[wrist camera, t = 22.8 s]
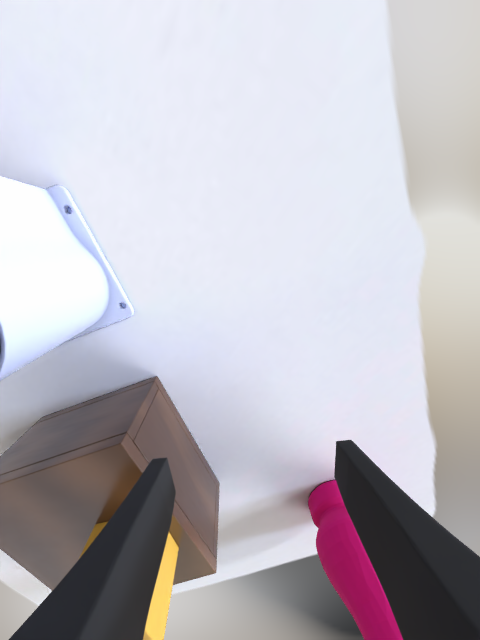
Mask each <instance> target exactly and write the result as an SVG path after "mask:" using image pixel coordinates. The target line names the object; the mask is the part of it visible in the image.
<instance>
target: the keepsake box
mask: <svg viewBox="0 0 480 640" xmlns="http://www.w3.org/2000/svg"><path fill="white" fill-rule="evenodd" d="M125 433H127V434H128V435H129V437H130V438H131V440H132V441H133V443H134V444H135V445H136V447H137V448H138V450H139V451H140V452H141V454H142V455H143V457H144V458H145V459H146V461H147V462H148V464H149V463H150V462H151V460H152V459H156V458H166V457H167V459H168V463H169V467H170V470H171V474H172V478H173V482H174V486H175V490H176V495H175V502H176V503H177V505H178V506H179V508H180V509H181V510H182V512H183V513H184V515H185V516H186V517H187V519H188V520H189V522H190V523H191V525H192V526H193V527H194V529H195V530H196V532H197V533H198V534H199V536H200V537H201V539H202V540H203V541H204V543H205V544H206V546H207V547H208V549H209V550H210V551H211V553H212V554H213V556H214V557H215V558H216V559H217V539H218V512H219V482H218V480H217V478H216V476H215V475H214V473H213V471H212V470H211V468H210V466H209V464H208V463H207V461H206V459H205V458H204V456H203V454H202V452H201V451H200V449H199V447H198V446H197V444H196V442H195V440H194V439H193V437H192V435H191V433H190V432H189V430H188V428H187V427H186V425H185V423H184V421H183V420H182V418H181V416H180V415H179V413H178V411H177V409H176V408H175V406H174V404H173V402H172V401H171V399H170V397H169V396H168V394H167V392H166V390H165V389H164V387H163V385H162V384H161V382H160V380H159V378H158V377H157V376H156V377H153V378H150V379H148V380H145V381H142V382H139V383H136V384H134V385H131V386H128V387H125V388H123V389H120V390H117V391H114V392H111V393H109V394H106V395H103V396H100V397H97V398H95V399H92V400H89V401H86V402H83V403H81V404H78V405H75V406H72V407H69V408H67V409H64V410H61V411H58V412H55V413H53V414H50V415H47V416H44V417H42V418H41V419H40V420H39V421H38V422H37V423H36V424H34V425H33V426H32V427H31V428H30V429H29V430H28V431H27V432H26V433H25V434H24V435H23V436H22V437H20V438H19V439H18V440H17V441H16V442H15V443H14V444H13V445H12V446H11V447H10V448H9V449H8V450H7V451H5V452H4V453H3V454H2V455H1V456H0V476H1V475H4V474H7V473H10V472H13V471H16V470H19V469H22V468H24V467H27V466H30V465H33V464H36V463H39V462H42V461H45V460H48V459H51V458H54V457H57V456H60V455H63V454H66V453H69V452H72V451H75V450H78V449H81V448H84V447H86V446H89V445H92V444H95V443H98V442H101V441H104V440H107V439H110V438H113V437H116V436H119V435H122V434H125Z"/></svg>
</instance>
